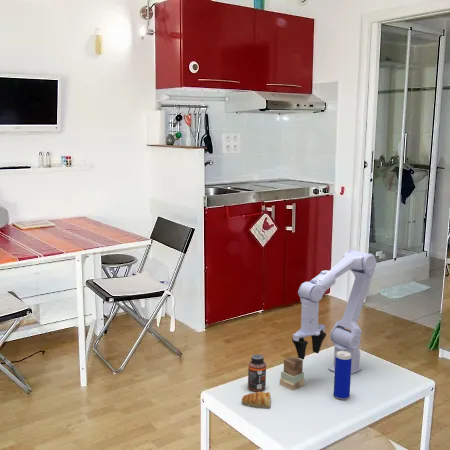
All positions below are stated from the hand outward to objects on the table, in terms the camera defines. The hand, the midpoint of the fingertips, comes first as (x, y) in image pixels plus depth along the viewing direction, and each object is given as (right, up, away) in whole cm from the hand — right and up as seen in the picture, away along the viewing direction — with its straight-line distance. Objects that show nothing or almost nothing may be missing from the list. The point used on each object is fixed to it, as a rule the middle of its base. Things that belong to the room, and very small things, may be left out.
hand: (308, 355), depth 186 cm
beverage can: (+10, -12, -7) cm, 17 cm away
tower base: (-6, -11, +1) cm, 12 cm away
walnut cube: (-5, -6, 0) cm, 8 cm away
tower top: (-5, -8, +1) cm, 10 cm away
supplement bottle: (-18, -11, -2) cm, 21 cm away
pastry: (-18, -13, -12) cm, 25 cm away
